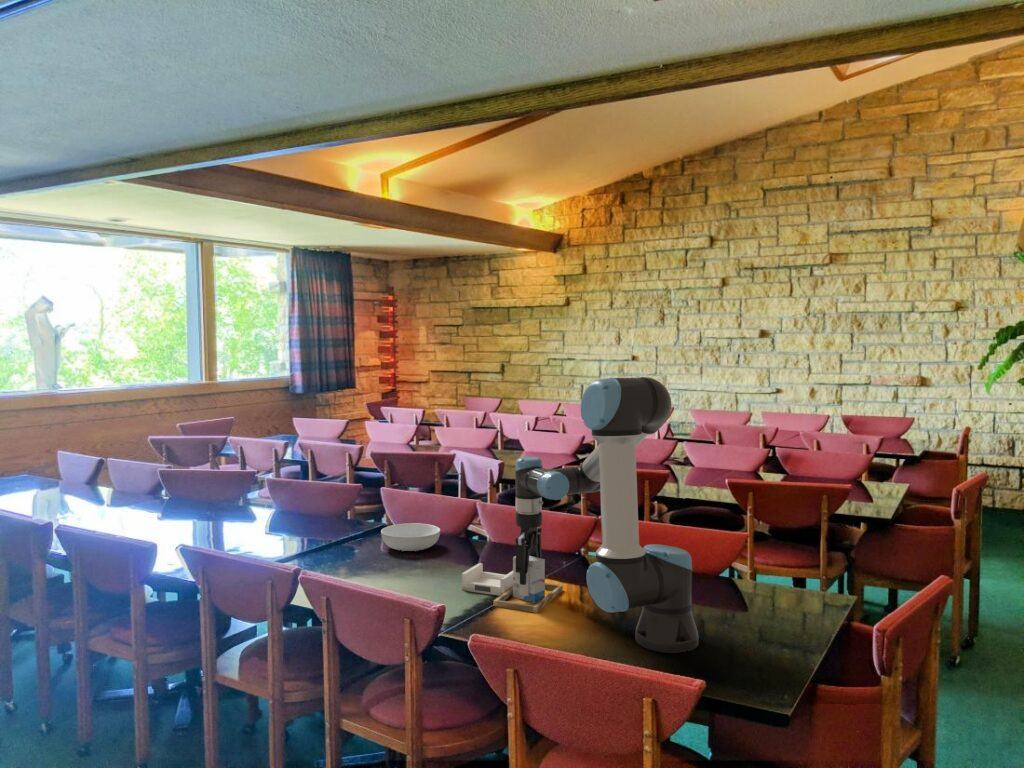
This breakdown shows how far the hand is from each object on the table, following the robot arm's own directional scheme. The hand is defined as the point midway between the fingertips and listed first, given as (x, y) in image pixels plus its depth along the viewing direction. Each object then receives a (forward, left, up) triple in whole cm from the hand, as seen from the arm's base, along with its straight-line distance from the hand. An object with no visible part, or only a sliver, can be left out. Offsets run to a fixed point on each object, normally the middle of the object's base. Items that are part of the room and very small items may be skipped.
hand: (529, 591), depth 214 cm
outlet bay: (+4, +14, -2) cm, 15 cm away
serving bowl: (+31, +59, -2) cm, 67 cm away
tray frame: (0, 0, -2) cm, 2 cm away
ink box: (0, 0, -2) cm, 2 cm away
